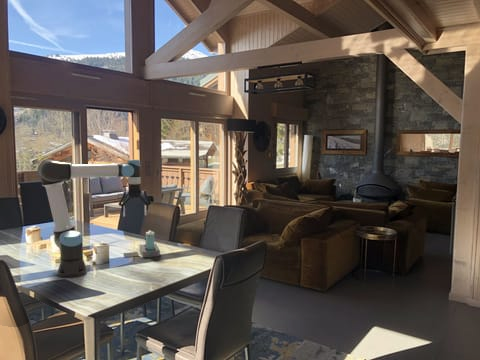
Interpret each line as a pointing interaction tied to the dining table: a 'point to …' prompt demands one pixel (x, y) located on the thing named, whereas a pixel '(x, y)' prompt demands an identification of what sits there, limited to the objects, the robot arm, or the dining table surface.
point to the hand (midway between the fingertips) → (134, 215)
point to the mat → (131, 254)
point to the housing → (149, 253)
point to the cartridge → (149, 240)
